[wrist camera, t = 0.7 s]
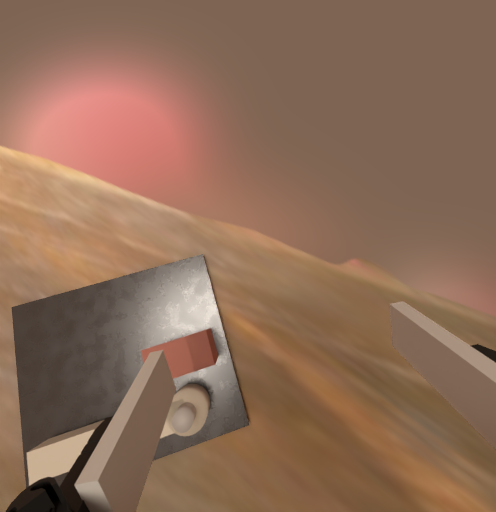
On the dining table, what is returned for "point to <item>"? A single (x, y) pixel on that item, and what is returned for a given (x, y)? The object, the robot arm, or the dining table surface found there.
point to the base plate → (118, 352)
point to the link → (72, 443)
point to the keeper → (187, 353)
